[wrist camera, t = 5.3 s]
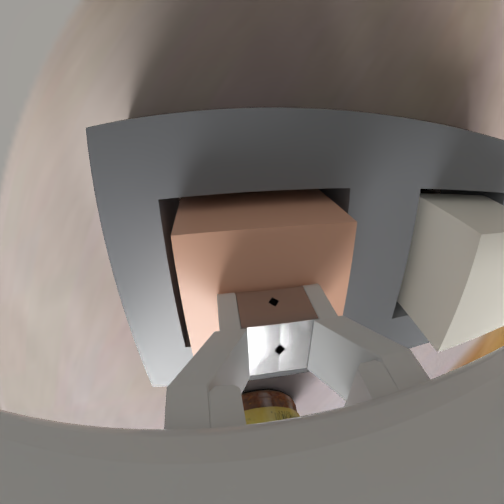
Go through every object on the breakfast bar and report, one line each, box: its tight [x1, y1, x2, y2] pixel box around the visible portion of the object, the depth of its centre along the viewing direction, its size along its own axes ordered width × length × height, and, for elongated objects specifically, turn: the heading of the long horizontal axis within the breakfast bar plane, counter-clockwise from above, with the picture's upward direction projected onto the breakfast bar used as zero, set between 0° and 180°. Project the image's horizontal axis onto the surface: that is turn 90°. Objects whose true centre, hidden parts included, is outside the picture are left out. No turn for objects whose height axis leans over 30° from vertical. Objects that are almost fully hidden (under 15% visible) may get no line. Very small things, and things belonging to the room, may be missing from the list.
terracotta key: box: [171, 189, 357, 356], centre depth 11 cm, size 5×5×4 cm
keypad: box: [86, 107, 504, 387], centre depth 13 cm, size 19×11×5 cm, turn 91°
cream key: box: [397, 193, 504, 352], centre depth 10 cm, size 5×5×4 cm
